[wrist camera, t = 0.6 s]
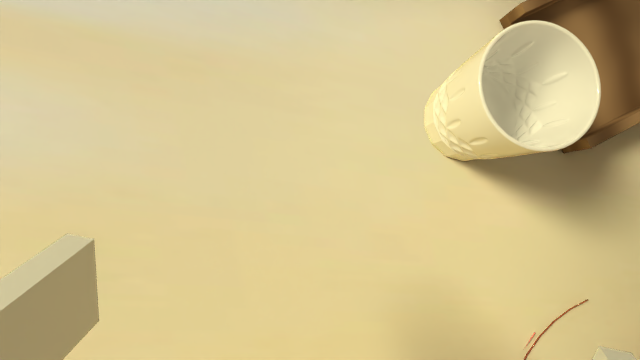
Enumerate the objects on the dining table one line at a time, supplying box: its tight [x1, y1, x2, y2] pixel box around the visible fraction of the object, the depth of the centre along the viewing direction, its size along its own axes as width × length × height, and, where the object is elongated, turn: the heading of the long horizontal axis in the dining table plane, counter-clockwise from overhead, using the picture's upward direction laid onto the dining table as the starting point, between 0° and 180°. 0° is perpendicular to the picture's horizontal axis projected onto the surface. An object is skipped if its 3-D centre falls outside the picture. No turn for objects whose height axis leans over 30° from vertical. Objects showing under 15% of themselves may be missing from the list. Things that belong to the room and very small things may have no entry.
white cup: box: [424, 20, 601, 161], centre depth 30 cm, size 8×8×10 cm
